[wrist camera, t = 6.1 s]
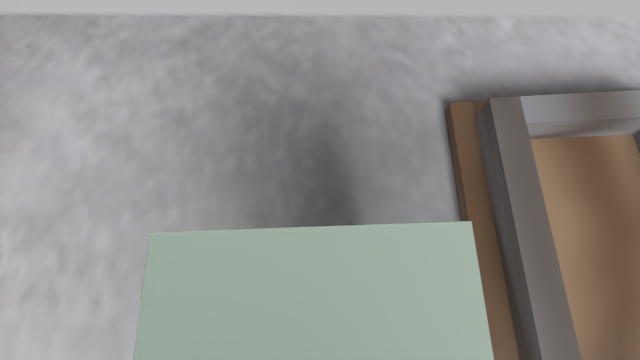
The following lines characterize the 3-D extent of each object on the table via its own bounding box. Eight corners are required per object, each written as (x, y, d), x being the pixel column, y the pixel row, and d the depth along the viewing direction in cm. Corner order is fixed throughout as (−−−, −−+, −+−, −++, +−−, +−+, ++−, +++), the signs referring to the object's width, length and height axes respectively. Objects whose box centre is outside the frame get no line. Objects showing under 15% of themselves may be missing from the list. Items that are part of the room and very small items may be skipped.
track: (505, 506, 15) (544, 558, 12) (444, 111, 21) (461, 82, 18) (808, 509, 14) (926, 564, 11) (655, 100, 20) (707, 68, 17)
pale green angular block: (290, 371, 17) (92, 671, 4) (290, 275, 18) (149, 232, 5) (383, 369, 17) (546, 688, 3) (376, 273, 18) (471, 220, 5)
